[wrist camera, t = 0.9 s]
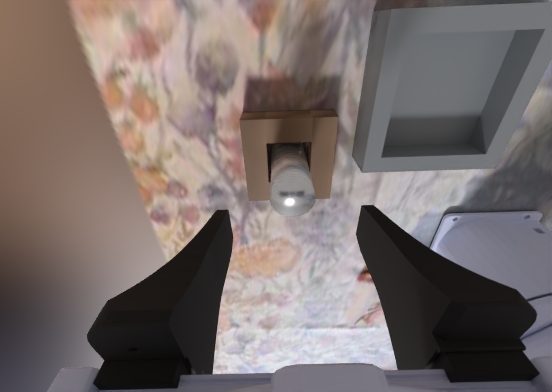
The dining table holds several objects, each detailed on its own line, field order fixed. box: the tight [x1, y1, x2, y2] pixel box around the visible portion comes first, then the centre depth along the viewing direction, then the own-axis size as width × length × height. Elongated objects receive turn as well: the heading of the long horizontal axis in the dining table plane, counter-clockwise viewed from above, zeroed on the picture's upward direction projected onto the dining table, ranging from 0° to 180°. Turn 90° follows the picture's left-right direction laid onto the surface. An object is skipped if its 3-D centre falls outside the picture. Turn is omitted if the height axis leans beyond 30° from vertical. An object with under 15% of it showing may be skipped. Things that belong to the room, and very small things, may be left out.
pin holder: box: [240, 109, 338, 201], centre depth 20 cm, size 7×7×2 cm
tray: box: [352, 2, 552, 173], centre depth 17 cm, size 10×10×3 cm
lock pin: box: [270, 142, 315, 217], centre depth 18 cm, size 3×3×7 cm
